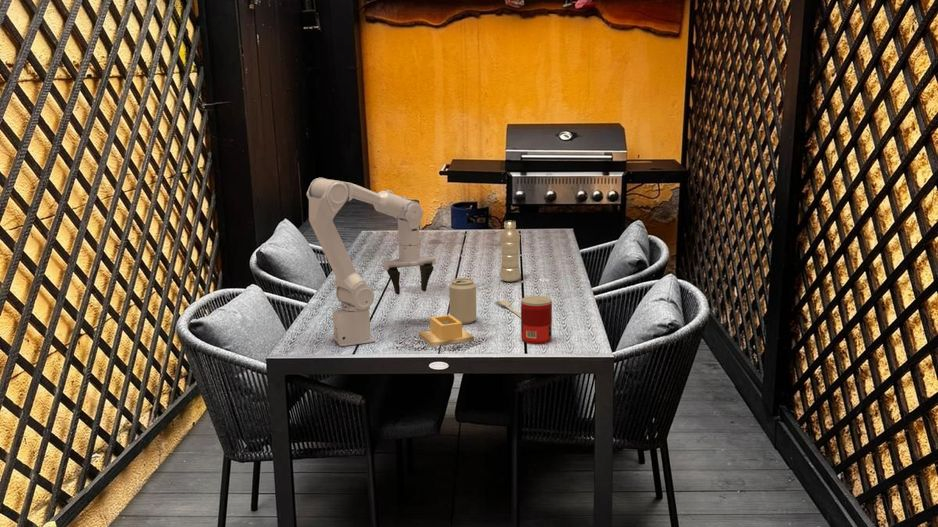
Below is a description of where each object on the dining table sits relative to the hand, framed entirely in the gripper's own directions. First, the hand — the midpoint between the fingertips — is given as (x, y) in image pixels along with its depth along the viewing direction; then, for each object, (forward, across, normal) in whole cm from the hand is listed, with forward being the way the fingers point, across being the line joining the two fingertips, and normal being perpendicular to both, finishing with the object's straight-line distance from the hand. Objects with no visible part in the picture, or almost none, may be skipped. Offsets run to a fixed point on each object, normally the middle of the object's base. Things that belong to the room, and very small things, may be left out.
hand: (410, 292), depth 242 cm
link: (+9, +5, -14) cm, 17 cm away
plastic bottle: (+10, +46, +34) cm, 58 cm away
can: (+10, +15, -1) cm, 18 cm away
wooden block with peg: (+10, +5, -14) cm, 17 cm away
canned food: (+10, +26, -25) cm, 37 cm away
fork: (+10, +32, +2) cm, 33 cm away
